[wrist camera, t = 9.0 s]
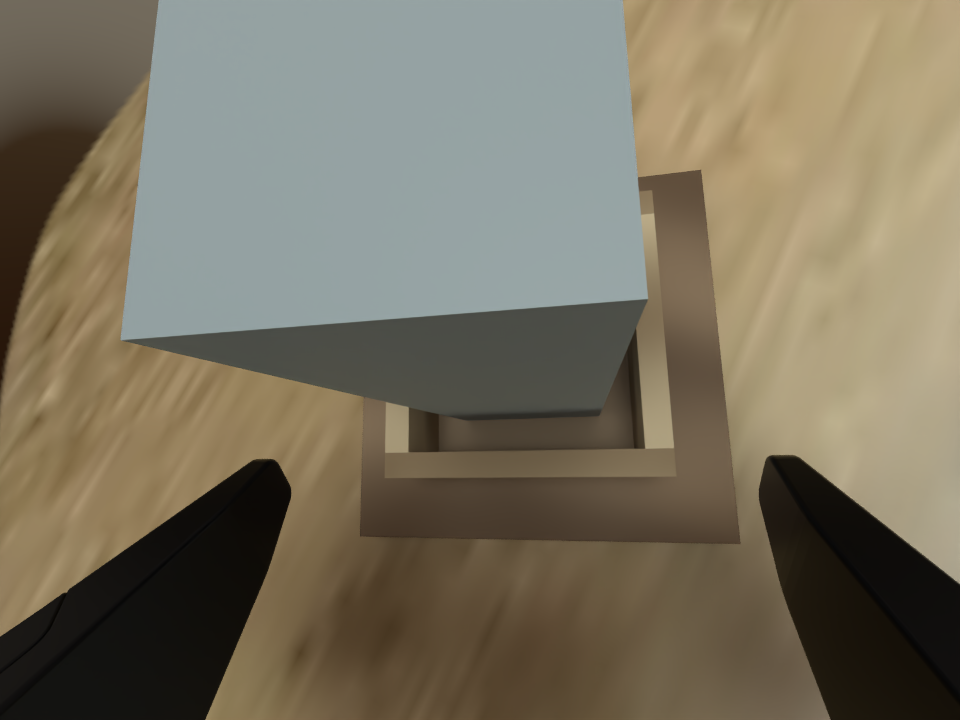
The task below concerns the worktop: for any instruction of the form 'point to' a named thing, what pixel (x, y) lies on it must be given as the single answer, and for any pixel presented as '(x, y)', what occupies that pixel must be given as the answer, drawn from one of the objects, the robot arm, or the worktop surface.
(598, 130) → the slate peg
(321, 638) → the worktop surface
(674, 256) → the pocket board
